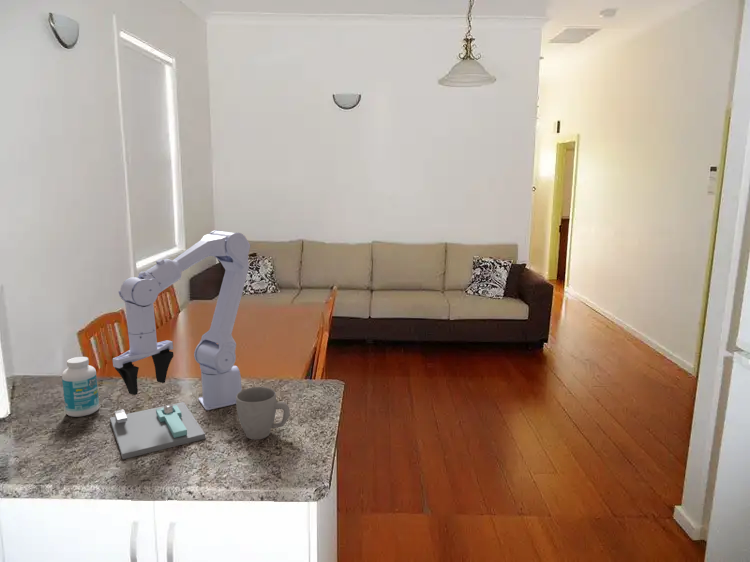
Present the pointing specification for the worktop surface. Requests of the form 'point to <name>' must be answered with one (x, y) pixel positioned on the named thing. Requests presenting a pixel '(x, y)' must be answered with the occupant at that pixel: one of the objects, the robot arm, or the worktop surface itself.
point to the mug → (259, 411)
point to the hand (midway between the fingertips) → (147, 387)
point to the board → (153, 432)
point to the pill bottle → (80, 387)
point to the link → (173, 421)
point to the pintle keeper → (122, 418)
